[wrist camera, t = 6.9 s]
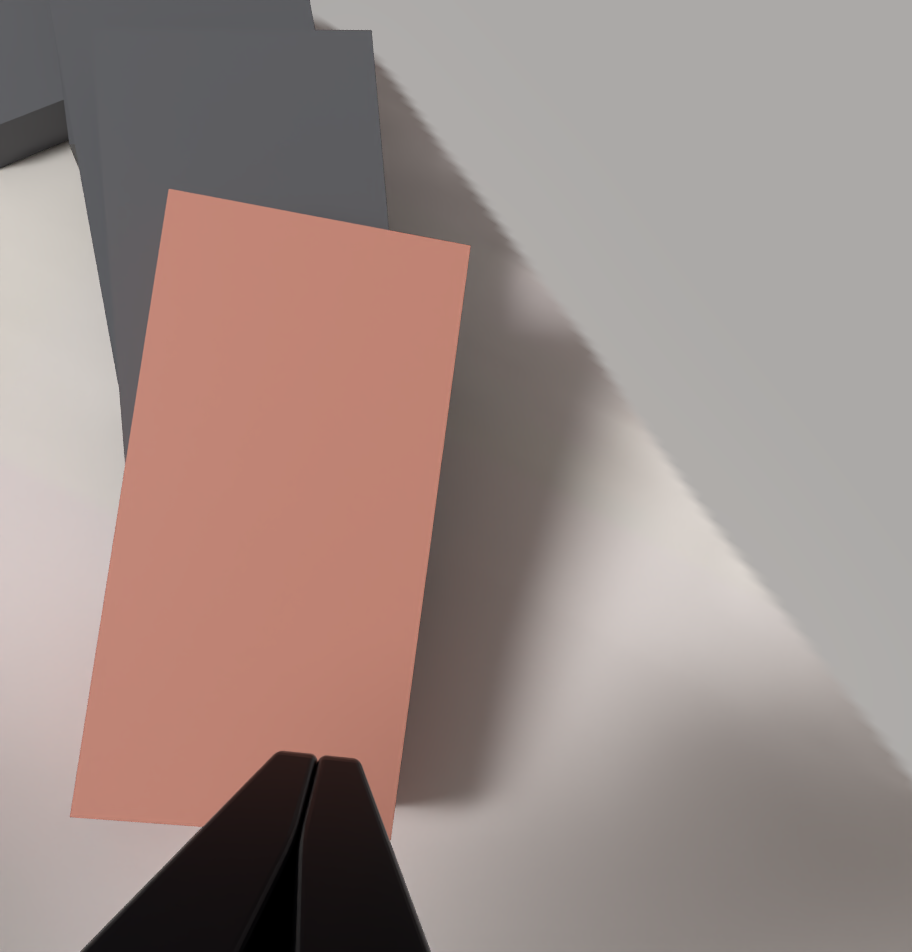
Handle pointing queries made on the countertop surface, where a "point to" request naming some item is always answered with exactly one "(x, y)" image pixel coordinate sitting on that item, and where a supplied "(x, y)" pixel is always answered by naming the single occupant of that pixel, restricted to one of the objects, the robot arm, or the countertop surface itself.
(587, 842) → the countertop surface
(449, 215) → the countertop surface
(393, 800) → the domino
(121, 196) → the domino
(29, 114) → the domino
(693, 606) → the countertop surface
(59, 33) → the domino
